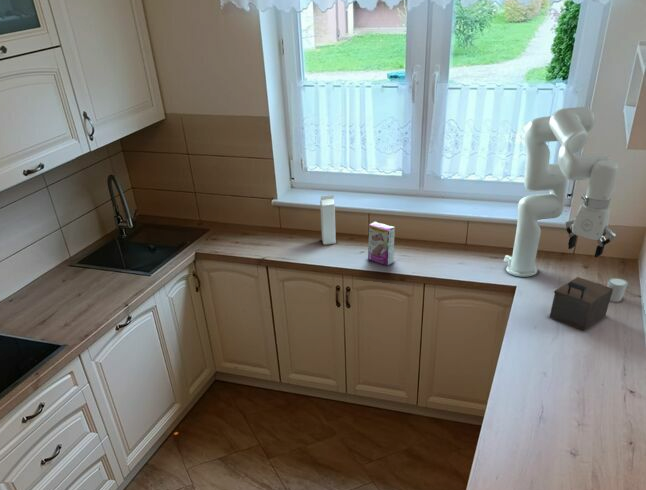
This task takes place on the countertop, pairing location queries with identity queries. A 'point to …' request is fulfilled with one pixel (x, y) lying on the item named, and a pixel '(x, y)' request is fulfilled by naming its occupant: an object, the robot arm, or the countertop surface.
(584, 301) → the lid
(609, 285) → the shot glass
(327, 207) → the milk
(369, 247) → the candy bar box
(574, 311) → the chest
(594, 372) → the countertop surface
